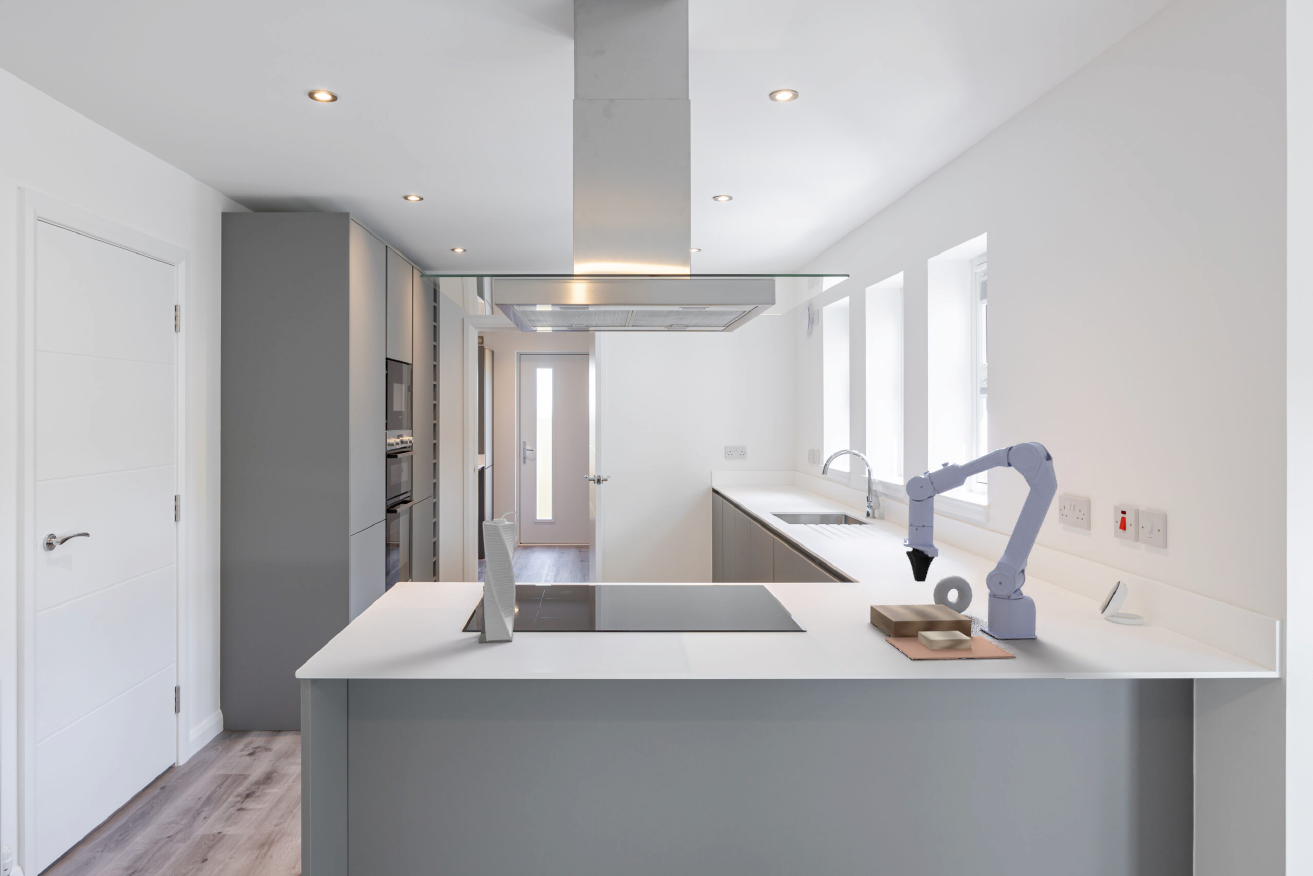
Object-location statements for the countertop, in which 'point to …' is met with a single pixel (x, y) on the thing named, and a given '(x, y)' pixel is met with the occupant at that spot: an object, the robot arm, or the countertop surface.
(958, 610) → the donut
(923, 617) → the block
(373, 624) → the countertop surface
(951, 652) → the mat
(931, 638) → the cream rectangular block
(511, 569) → the skyscraper
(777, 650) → the countertop surface
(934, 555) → the robot arm
